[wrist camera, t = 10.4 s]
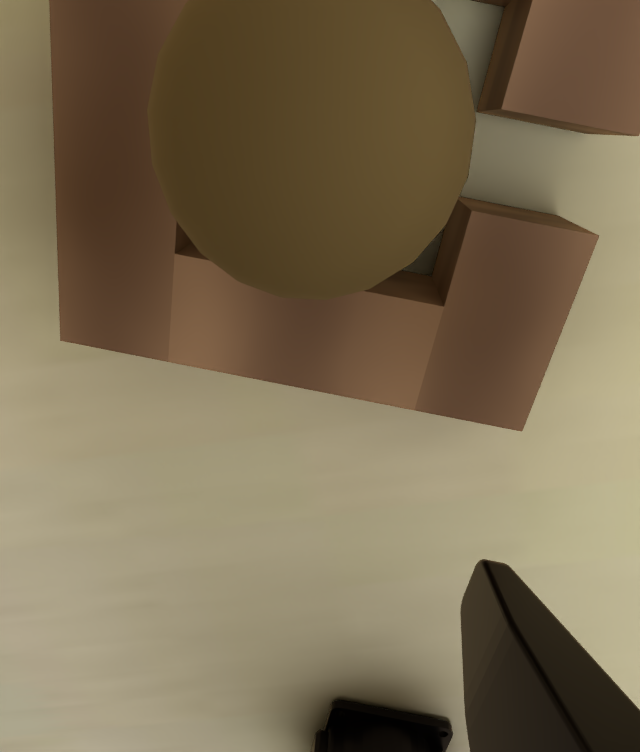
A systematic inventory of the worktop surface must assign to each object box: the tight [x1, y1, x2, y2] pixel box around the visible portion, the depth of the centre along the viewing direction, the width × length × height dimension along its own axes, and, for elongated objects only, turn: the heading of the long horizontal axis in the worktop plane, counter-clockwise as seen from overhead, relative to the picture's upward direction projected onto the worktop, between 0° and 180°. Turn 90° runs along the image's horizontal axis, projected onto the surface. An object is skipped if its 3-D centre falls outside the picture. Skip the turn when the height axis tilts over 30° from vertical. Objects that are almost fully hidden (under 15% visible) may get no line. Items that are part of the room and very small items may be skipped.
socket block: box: [49, 0, 640, 431], centre depth 16 cm, size 15×15×4 cm
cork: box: [147, 0, 476, 300], centre depth 12 cm, size 6×6×11 cm
